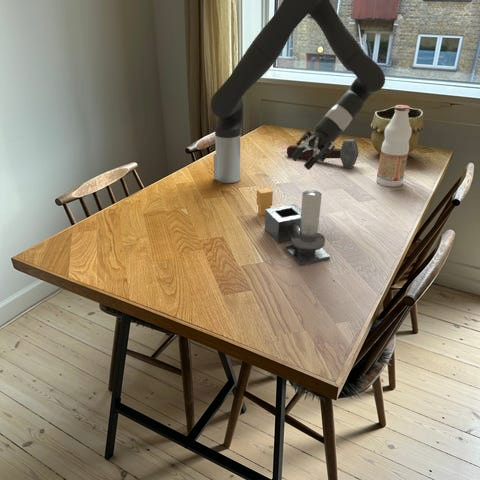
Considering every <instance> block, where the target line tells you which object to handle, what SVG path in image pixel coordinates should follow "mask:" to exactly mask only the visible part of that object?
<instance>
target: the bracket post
mask: <svg viewBox="0 0 480 480" xmlns="http://www.w3.org/2000/svg"><path fill="white" fill-rule="evenodd" d="M301 197H302V198H301V207H299V206H297V205H296V204H294V203H293V204H287V205H282V206H277V207H270V209H265V215H264V231H265V232H266V233H267V235H269V237H270V238H271V239H272V240H273V241H274V242H275V243H276V244H277V245H280V244H283V243H288V242H290V243H291V245H287V246H284V251H285V252H286V253H287V254H288V255H289V256H290V257H291V258H292V259H293V260H294V261H295V262H296V263H297V264H298V265H299V266H300V267H303V266H307V265H311V264H315V263H316V264H317V263H319V262H320V263H321V262H323V261H324V262H325V261H328V260H330V259H331V256H330V254H329V253H327V252H326V251H325V250H324V249H323V248H324V246H325V245H326V244H325V243H326V237H325V236H324V235H323V234H322V233H320V232H319V224H320V215H321V205H322V204H321V203H322V192H320V191H317V190H313V189H310V190H308V189H307V190H305V191H303V192H302V196H301Z"/></svg>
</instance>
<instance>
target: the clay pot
mask: <svg viewBox="0 0 480 480" xmlns="http://www.w3.org/2000/svg"><path fill="white" fill-rule="evenodd" d="M394 114H395V106H392V107H389V108H386V109H382V110H378V111H375V112H374V115H373V119H372V122H371V124H370V129H371V130H372V133H371V135H370V136H371V137H370V139H371V144H372V146H373V148H374V149H375V151H376V152H377V153H378V154H381V148H382V144H383V141H384V140H385V134H384V132H385V128H386V126H387V125H388V124H389V123H390V121H391V119H392V117H393V116H394ZM408 117H409V123H410V127H411V129H412V134H411V137H410V139H409V152H408V155H410V153H412V152H413V151H414V150H415V149H416V147H417V145H418V143H419V139H420V135H419V134H420V132H421V130H424V111H422V109H419V108H412V107H410V110H409V112H408Z"/></svg>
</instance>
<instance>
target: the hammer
mask: <svg viewBox="0 0 480 480" xmlns="http://www.w3.org/2000/svg"><path fill="white" fill-rule="evenodd" d="M304 148H305V146H304ZM358 148H359V147H358V143H357V141H356V139H354V138H348V139H346V138H345V140H343V142H342V144H341V148H334V149H333V150H332V151H331V153H330V154H329V155H328V156H327V158H326V159H340V161H341V163H342V166H343V168H344V169H348V170H350V169H352V167H354V166H355V164H356V162H357V160H358V157H359V149H358ZM297 149H298V146H297V145H296V144H295V145H294V144H293V145H292V144H291V145H289V146H288V147H286V154H287V157H288V158H291V156H292V154H293V153H294V152H295V151H296V150H297ZM313 153H314V150H312V149H311V150H306V151H304V152H303V154H302V155H301V156H300V157H299V158H298V159H301V160H302V159H308V160H309V159H310V157H311V156H312V157H313ZM324 154H325V153H323V155H322V156H324Z"/></svg>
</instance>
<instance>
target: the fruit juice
mask: <svg viewBox="0 0 480 480" xmlns="http://www.w3.org/2000/svg"><path fill="white" fill-rule="evenodd" d="M394 107H395V114H394V116H393V117H392V119H391V121H390V123H389V124H388V125H387V126H386V128H385V132H384V134H385V140H384V141H383V144H382V148H381V154H380V153H379V154H380V155H379V161H378V168H377V171H376V172H377V173H376V183H377V184H380V185H381V186H384V187H389V188H390V187H392V188H393V187H394V188H395V187H399V186H401V185H402V184H403V182H404V181H403V180H404V176H405V171H406V166H407V161H408V160H407V159H408V156H409V154H408V152H409V139H410V137H411V134H412V129H411V127H410V123H409V117H408V112H409V110H410V108H411V107H410V106H409V105H405V104H396V105H395V106H394Z"/></svg>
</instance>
